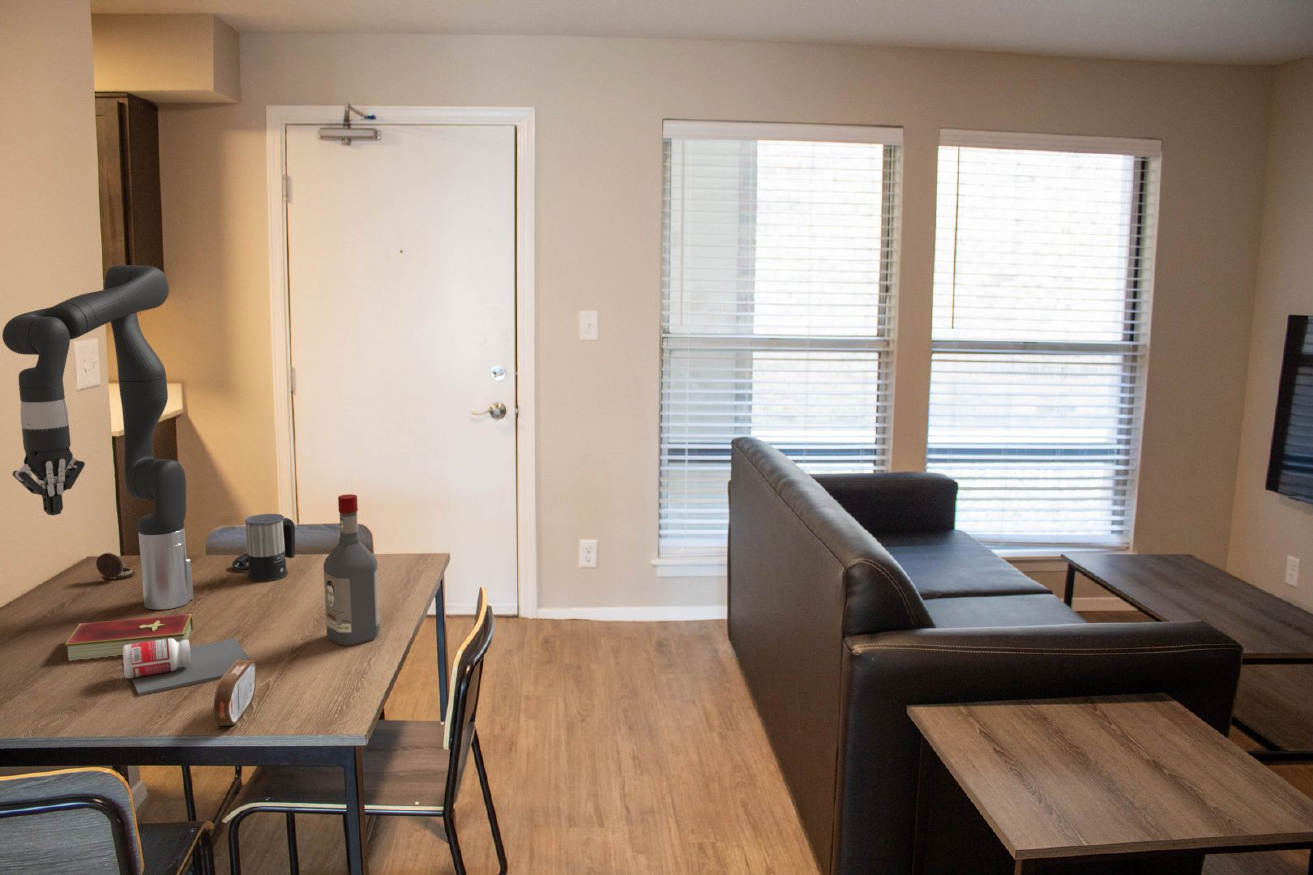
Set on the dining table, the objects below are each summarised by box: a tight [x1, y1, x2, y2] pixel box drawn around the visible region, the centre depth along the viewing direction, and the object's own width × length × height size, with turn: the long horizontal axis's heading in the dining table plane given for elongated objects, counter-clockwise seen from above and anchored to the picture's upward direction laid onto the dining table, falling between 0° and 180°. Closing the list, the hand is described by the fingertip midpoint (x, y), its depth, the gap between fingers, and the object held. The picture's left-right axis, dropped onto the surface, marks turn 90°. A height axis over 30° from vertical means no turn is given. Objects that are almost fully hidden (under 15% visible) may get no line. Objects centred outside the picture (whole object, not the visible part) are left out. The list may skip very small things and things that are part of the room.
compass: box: [95, 551, 135, 581], centre depth 240 cm, size 8×8×7 cm
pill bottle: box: [122, 638, 191, 679], centre depth 184 cm, size 6×6×11 cm
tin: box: [213, 659, 257, 727], centre depth 169 cm, size 15×3×8 cm, turn 5°
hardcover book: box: [64, 613, 194, 662], centre depth 199 cm, size 12×21×4 cm, turn 108°
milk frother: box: [231, 513, 296, 583], centre depth 244 cm, size 14×16×15 cm
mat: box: [131, 637, 251, 697], centre depth 189 cm, size 20×18×1 cm
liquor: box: [323, 493, 381, 647], centre depth 202 cm, size 9×9×30 cm
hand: (54, 514), depth 187 cm, fingers closed
